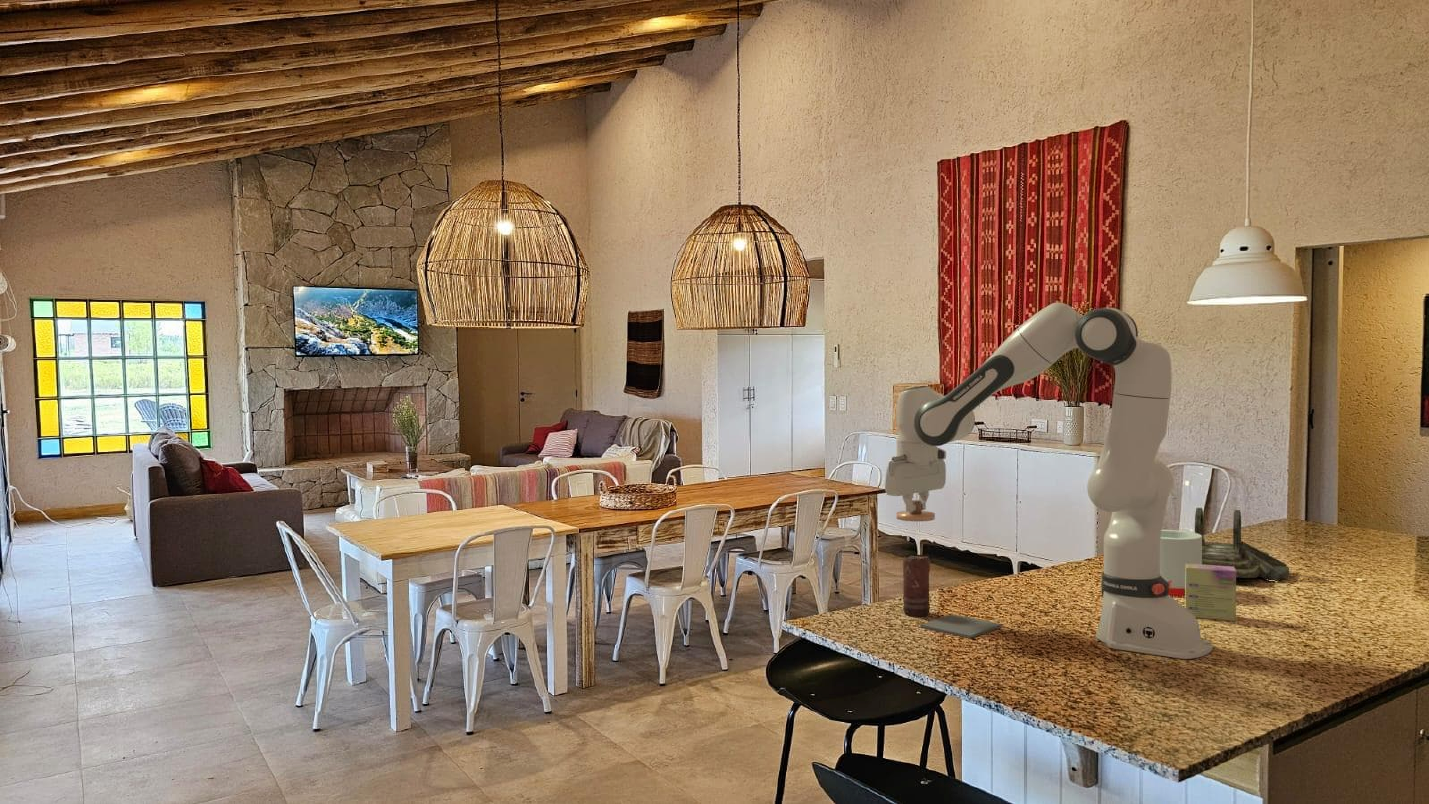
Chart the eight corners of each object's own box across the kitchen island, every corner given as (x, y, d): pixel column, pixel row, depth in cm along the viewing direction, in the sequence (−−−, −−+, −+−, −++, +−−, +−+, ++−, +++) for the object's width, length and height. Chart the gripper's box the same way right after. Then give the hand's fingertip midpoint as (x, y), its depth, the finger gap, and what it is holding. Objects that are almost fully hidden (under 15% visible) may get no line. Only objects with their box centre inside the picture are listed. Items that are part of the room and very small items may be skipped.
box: (1234, 615, 222) (1234, 565, 221) (1236, 621, 216) (1236, 570, 216) (1184, 611, 226) (1184, 562, 226) (1185, 617, 221) (1185, 567, 220)
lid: (942, 518, 227) (942, 500, 227) (921, 522, 221) (920, 504, 221) (910, 514, 234) (910, 497, 234) (889, 518, 228) (888, 501, 228)
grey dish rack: (1165, 555, 293) (1165, 497, 292) (1293, 567, 273) (1293, 505, 273) (1141, 577, 265) (1141, 512, 264) (1281, 591, 245) (1281, 522, 244)
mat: (1001, 626, 216) (1001, 624, 216) (970, 638, 207) (970, 635, 207) (952, 616, 225) (952, 614, 225) (920, 627, 216) (920, 624, 216)
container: (1139, 594, 243) (1138, 538, 243) (1135, 581, 258) (1135, 528, 258) (1208, 599, 238) (1208, 541, 237) (1200, 585, 252) (1200, 530, 252)
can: (930, 617, 225) (930, 559, 224) (903, 616, 226) (902, 558, 226) (930, 611, 231) (929, 554, 230) (903, 610, 232) (903, 553, 231)
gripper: (900, 457, 218) (901, 517, 218) (950, 451, 232) (950, 507, 232) (878, 456, 222) (878, 514, 223) (928, 450, 236) (928, 505, 237)
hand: (915, 511), depth 227 cm, fingers closed on lid, 3 cm apart
